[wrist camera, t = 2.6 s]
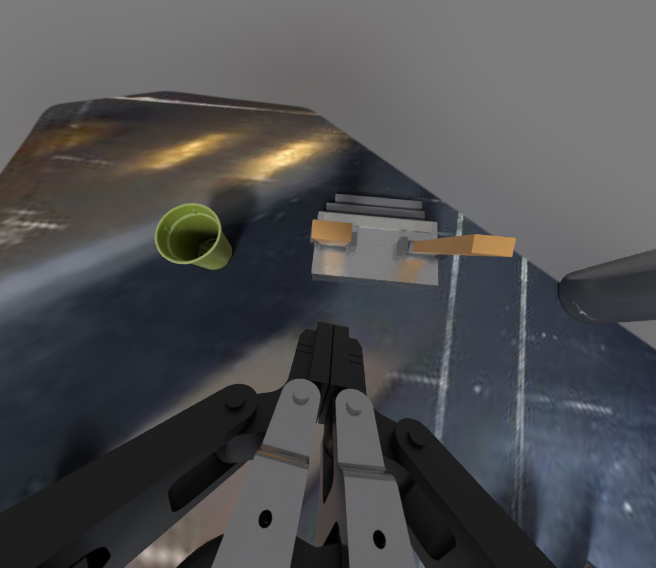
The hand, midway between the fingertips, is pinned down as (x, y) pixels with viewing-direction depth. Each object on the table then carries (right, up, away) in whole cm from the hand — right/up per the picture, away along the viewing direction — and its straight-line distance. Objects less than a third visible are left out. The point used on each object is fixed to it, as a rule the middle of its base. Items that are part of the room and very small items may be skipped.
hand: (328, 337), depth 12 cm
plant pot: (-20, +8, +30) cm, 37 cm away
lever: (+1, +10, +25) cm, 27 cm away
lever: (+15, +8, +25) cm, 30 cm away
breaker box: (+8, +8, +30) cm, 32 cm away
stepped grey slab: (+9, +17, +32) cm, 37 cm away
